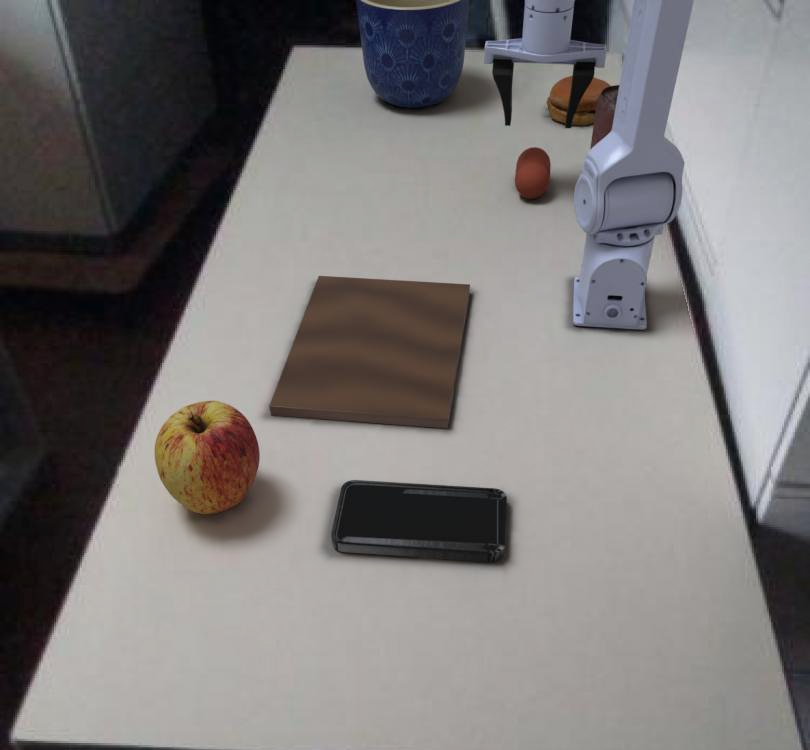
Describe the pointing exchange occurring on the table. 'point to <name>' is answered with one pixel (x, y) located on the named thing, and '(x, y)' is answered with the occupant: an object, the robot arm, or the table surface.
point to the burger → (586, 106)
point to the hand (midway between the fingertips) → (538, 123)
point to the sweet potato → (532, 172)
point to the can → (604, 114)
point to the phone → (420, 520)
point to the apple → (207, 456)
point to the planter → (413, 48)
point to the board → (375, 352)
